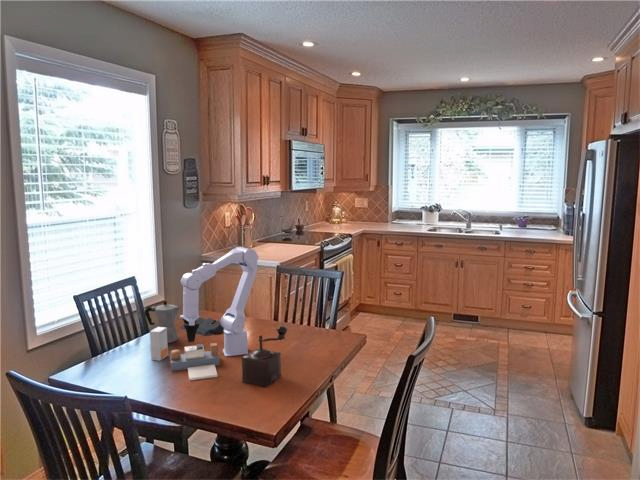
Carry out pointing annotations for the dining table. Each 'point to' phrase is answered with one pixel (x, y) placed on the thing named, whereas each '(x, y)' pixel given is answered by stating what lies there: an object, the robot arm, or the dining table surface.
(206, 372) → the tile
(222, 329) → the dark slate chunk
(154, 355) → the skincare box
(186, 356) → the lever cap
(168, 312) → the coffeepot
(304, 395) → the dining table surface
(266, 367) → the manual coffee grinder
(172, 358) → the plane body
